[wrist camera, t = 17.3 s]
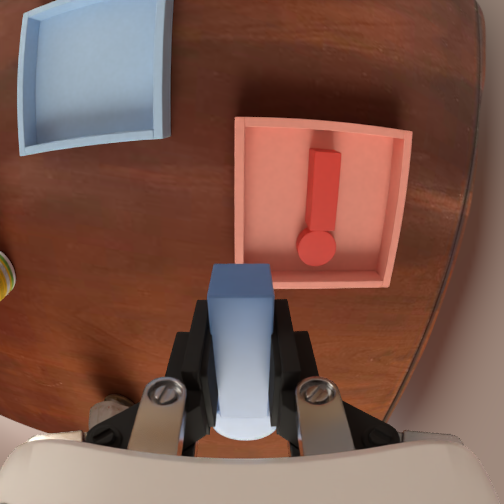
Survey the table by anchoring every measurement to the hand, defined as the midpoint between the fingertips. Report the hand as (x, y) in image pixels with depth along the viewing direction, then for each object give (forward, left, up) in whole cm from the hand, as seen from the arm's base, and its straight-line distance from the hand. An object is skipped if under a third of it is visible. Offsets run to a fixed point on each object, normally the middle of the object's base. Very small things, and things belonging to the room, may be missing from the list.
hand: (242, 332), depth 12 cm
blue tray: (+13, -13, -15) cm, 24 cm away
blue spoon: (0, +2, 0) cm, 2 cm away
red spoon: (-6, -1, -15) cm, 16 cm away
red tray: (-6, -1, -15) cm, 16 cm away
